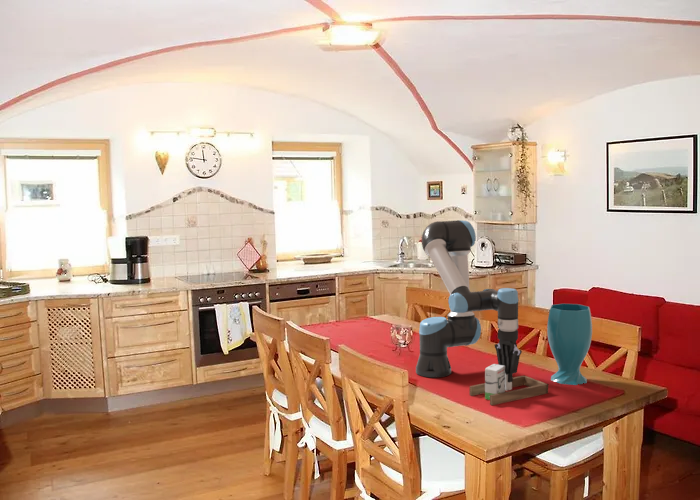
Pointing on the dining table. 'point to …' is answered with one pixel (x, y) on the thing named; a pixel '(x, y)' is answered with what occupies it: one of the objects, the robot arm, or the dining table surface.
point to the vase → (569, 340)
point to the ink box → (494, 380)
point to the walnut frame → (532, 390)
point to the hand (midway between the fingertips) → (507, 389)
